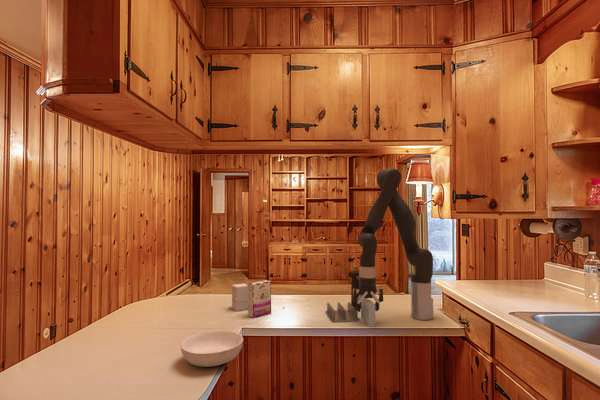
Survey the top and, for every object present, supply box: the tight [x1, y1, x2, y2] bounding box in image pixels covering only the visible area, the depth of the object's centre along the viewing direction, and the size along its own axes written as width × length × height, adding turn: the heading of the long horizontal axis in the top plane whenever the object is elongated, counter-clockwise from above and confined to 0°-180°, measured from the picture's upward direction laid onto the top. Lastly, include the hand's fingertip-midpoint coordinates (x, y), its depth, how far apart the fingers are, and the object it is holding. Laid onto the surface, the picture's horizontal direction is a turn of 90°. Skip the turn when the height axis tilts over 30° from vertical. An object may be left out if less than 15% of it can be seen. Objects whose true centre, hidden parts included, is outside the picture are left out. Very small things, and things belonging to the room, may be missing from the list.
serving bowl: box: [180, 329, 244, 368], centre depth 119 cm, size 21×21×7 cm
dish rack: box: [325, 301, 360, 323], centre depth 168 cm, size 13×16×5 cm
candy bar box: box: [247, 279, 272, 319], centre depth 171 cm, size 11×5×16 cm, turn 132°
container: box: [349, 269, 361, 310], centre depth 184 cm, size 9×9×20 cm
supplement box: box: [231, 283, 248, 312], centre depth 182 cm, size 7×7×13 cm
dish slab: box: [360, 298, 376, 328], centre depth 159 cm, size 3×12×10 cm, turn 7°
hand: (367, 311), depth 159 cm, fingers open, 8 cm apart
